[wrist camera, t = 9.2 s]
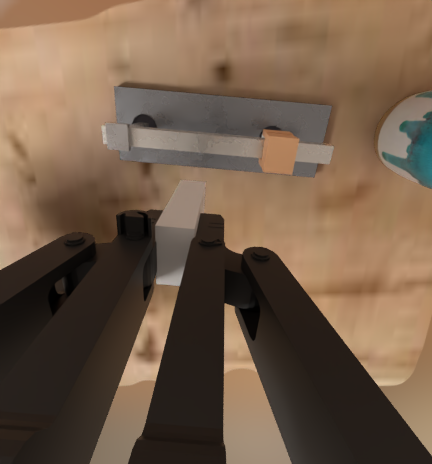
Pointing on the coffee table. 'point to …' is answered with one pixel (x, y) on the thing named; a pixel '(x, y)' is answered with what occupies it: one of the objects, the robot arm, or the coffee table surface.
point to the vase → (407, 138)
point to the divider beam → (202, 142)
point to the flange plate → (217, 124)
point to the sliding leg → (278, 152)
